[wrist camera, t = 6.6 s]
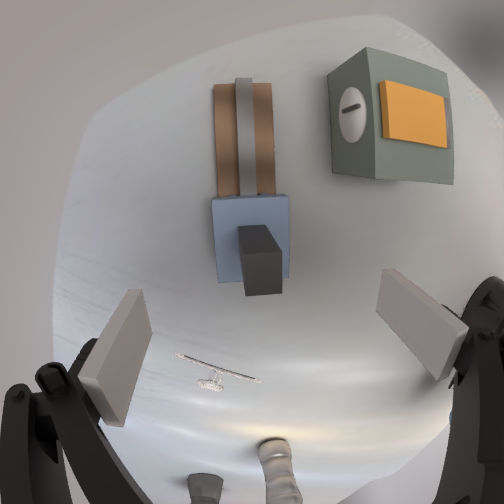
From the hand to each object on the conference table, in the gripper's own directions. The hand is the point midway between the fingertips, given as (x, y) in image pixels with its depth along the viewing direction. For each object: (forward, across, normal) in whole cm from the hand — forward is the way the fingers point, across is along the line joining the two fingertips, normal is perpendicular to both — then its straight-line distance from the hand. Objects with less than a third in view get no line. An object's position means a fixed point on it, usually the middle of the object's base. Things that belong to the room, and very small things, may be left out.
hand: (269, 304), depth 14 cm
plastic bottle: (+18, -3, +44) cm, 48 cm away
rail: (+18, 0, -6) cm, 19 cm away
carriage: (+16, 0, 0) cm, 16 cm away
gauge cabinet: (+18, -15, -12) cm, 26 cm away
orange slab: (+8, -15, -12) cm, 21 cm away
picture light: (+18, +6, +22) cm, 30 cm away
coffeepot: (+18, +13, +63) cm, 67 cm away
